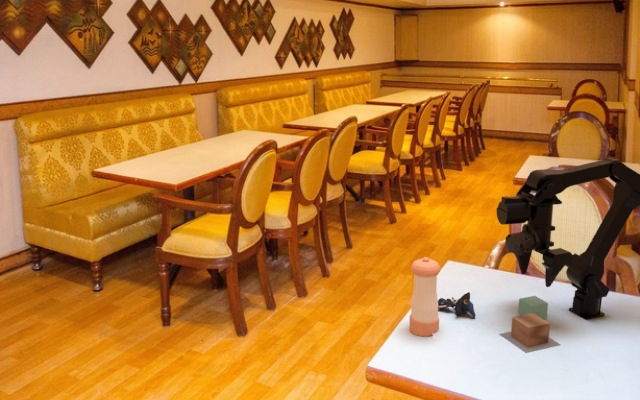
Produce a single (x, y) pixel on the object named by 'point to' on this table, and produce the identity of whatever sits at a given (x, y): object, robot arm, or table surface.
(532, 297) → the green cube
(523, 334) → the walnut block
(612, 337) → the table surface
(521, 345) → the mat
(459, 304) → the toy
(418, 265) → the pepper shaker
